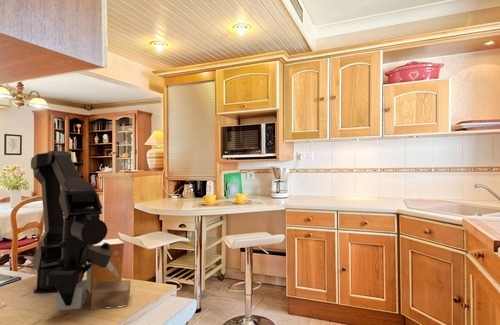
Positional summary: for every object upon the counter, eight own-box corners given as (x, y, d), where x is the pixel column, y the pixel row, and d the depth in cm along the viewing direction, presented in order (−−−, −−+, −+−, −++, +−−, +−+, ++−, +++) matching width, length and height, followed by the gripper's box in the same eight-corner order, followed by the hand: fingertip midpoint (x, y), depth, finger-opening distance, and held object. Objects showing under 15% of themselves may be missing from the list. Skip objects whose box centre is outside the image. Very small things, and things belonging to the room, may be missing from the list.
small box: (89, 295, 79) (93, 245, 79) (85, 287, 84) (88, 240, 84) (121, 288, 84) (124, 242, 84) (115, 281, 89) (118, 237, 89)
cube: (56, 310, 69) (58, 288, 70) (63, 301, 74) (64, 281, 74) (80, 308, 71) (81, 287, 71) (85, 299, 76) (86, 280, 76)
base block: (90, 309, 71) (91, 292, 71) (96, 297, 77) (97, 281, 77) (126, 306, 73) (127, 290, 73) (129, 295, 80) (130, 280, 80)
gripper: (105, 245, 66) (100, 315, 66) (116, 229, 84) (113, 284, 84) (48, 246, 63) (42, 320, 63) (72, 229, 81) (68, 286, 81)
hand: (71, 300), depth 72 cm, fingers closed on cube, 5 cm apart
